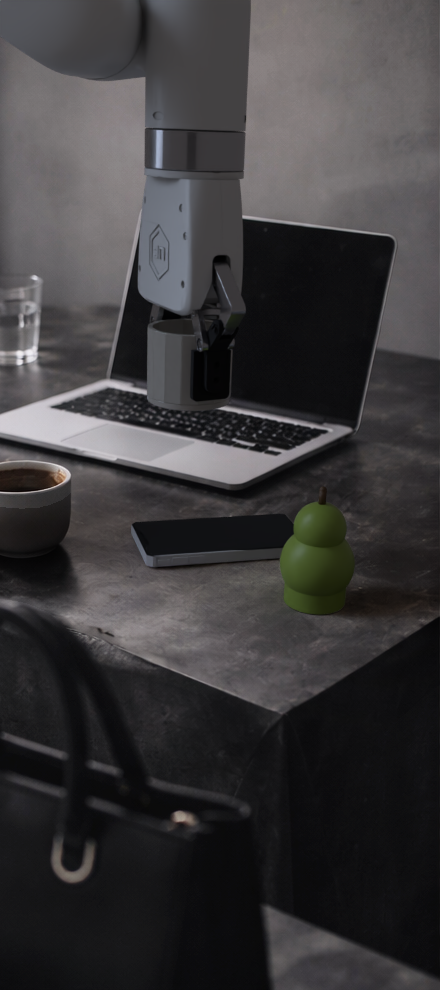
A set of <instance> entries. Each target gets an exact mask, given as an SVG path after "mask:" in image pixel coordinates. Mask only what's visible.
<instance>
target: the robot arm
mask: <svg viewBox="0 0 440 990" xmlns="http://www.w3.org/2000/svg"><path fill="white" fill-rule="evenodd" d="M251 17H252V0H0V38H1V39H2V40H4V41H5V42H7V43H8V44H10V45H11V46H13V47H14V48H16V49H17V50H18V51H20V52H21V53H23V54H25V55H26V56H27V57H29V58H30V59H32V60H34V61H35V62H37V63H38V64H41V65H42V66H44V67H45V68H47V69H49V70H51V71H52V72H53V71H54V72H55V73H59V74H61V75H65V76H68V77H76V78H81V79H83V80H84V79H85V80H89V81H95V82H114V81H115V82H116V81H124V80H132V79H139V78H144V80H145V81H144V84H145V85H144V87H145V89H144V98H145V99H144V127H145V128H144V158H143V159H144V160H143V161H144V164H143V165H144V171H143V172H144V176H146V178H145V182H144V183H145V184H144V189H143V197H142V198H143V199H142V203H141V211H140V213H141V214H140V225H139V241H138V260H137V261H138V263H137V290H138V293H139V294H140V296H141V297H142V298H144V300H146V301H147V303H148V305H149V308H150V310H151V311H150V315H149V324H150V323H152V322H155V321H160V320H166V319H187V317H188V316H189V315H190V319H192V325H193V331H194V336H195V342H196V347H197V349H196V350H191V374H190V398H191V399H192V400H194V401H196V402H199V401H209V400H219V399H226V398H228V396H229V392H230V367H231V350H234V348H235V347H236V346H235V345H236V340H235V338H236V336H237V335H238V333H239V330H240V327H239V326H240V324H241V322H242V321H243V319H244V317H245V315H246V312H247V307H246V303H245V301H244V298H243V296H242V288H243V276H244V275H243V274H244V273H243V271H244V270H243V268H244V223H243V203H242V201H243V199H242V190H241V180H243V179H244V178H245V171H244V170H245V160H246V159H245V158H246V157H245V156H246V135H247V134H246V131H247V106H248V86H249V63H250V43H251V41H250V39H251ZM203 305H204V306H207V307H205V308H204V307H203ZM205 320H212V321H213V322H212V324H211V326H210V327H209V329H208V331H207V330H206V324H205Z"/></svg>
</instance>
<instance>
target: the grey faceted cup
mask: <svg viewBox="0 0 440 990" xmlns="http://www.w3.org/2000/svg"><path fill="white" fill-rule="evenodd" d="M213 321H214V320H212V319H207V320H205V324H206V330H207V331H208V329H209V327H210V326H211V324H212V322H213ZM146 341H147V344H146V345H147V347H146V348H147V349H146V353H147V354H146V399H147V402H148V403H150V404H151V405H154V406H156V407H159V408H162V409H166V410H172V411H179V412H181V411H182V412H203V411H204V412H205V411H213V410H217V409H222V408H224V407H226V406H228V405H229V404H230V402H231V396H232V394H231V393H232V376H233V375H232V372H233V352H234V351H233V350H234V349H233V350H231V367H230V392H229V396H228V398H226V399H219V400H209V401H199V402H196V401H194V400H192V399H191V398H190V374H191V350H196V349H197V347H196V342H195V336H194V331H193V325H192V319H191V318H186V319H166V320H160V321H155V322H152V323H150V322H149V323H148V324H147V339H146Z"/></svg>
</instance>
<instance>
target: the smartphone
mask: <svg viewBox="0 0 440 990" xmlns="http://www.w3.org/2000/svg"><path fill="white" fill-rule="evenodd" d="M130 531H131V532H130V534H131V536H132V539H133V541H134V542H135V544H136V547H137V549H138V551H139V553H140V555H141V557H142V560H143V561H144V564H145V566H148V567H151V568H158V567H174V566H187V565H200V564H203V565H204V564H215V563H216V564H217V563H231V562H245V561H258V560H271V559H273V560H274V559H280V556H281V552H282V549H283V547H284V545H285V544H286V542H287V541H288V539H289V538H290V537H291V536H292V535H294V522H293V521H292V520H291V519H290V518H289V517H288V516H287V514H285V513H265V514H264V513H263V514H247V515H246V514H245V515H231V516H230V515H229V516H214V517H213V516H212V517H194V518H179V519H177V518H176V519H163V520H161V519H160V520H145V521H144V520H143V521H134V522H132V523H131V530H130Z"/></svg>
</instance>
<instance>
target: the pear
mask: <svg viewBox="0 0 440 990" xmlns="http://www.w3.org/2000/svg"><path fill="white" fill-rule="evenodd" d="M327 497H328V488H327V487H326V486H323V485H322V486H320V488H319V489H318V501H313V502H310V503H307V504H306V505H304V506H303V507H301V508H300V510H299V511H298V513H297V514H296V516H295V518H294V520H293V521H294V522H293V524H294V535H292V536H291V537H290V538H289V539H288V541H287V542H286V544H285V545H284V547H283V549H282V552H281V556H280V558H279V570H280V575H281V578H282V580H283V582H284V584H283V602H284V604H286V606H287V607H289V608H290V609H292V610H294V611H297V612H299V613H303V614H307V615H318V616H321V615H323V616H324V615H329V614H335V613H338V612H339V611H341V610H342V609H343V608H344V607H345V605H346V597H347V588H348V586H349V585H350V583H351V581H352V579H353V576H354V574H355V568H356V560H355V555H354V551H353V548H352V546H351V545H350V543H349V541H348V540H347V538H346V537H347V532H348V524H347V520H346V517H345V516H344V513H343V512H342V511H341V510H340V509H339V508H338V507H337V506H336V505H334V504H332V503H331V502H327Z"/></svg>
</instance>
